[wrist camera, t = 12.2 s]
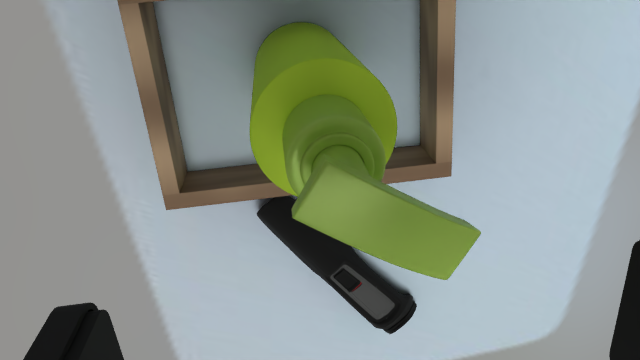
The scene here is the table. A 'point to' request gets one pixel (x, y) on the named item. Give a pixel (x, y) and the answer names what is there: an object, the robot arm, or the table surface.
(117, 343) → the robot arm
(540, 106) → the table surface
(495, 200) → the table surface
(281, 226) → the electric trimmer
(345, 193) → the soap dispenser
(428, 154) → the frame
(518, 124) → the table surface
